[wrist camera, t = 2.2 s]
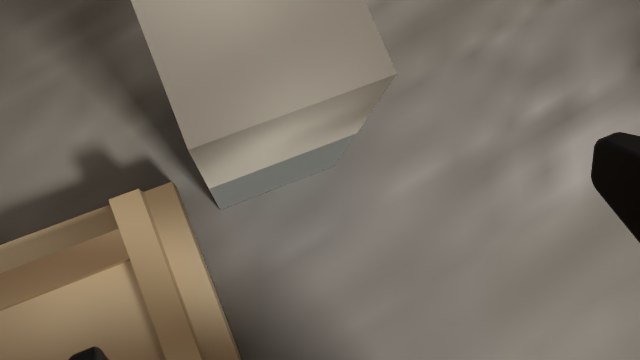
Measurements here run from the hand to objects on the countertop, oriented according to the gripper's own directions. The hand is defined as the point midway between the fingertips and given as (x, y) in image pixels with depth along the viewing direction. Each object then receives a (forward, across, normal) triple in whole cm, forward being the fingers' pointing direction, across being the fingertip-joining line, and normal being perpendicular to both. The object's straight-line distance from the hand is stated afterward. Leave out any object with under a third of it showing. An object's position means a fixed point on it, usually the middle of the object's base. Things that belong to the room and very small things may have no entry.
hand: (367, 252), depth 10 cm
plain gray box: (+12, 0, +4) cm, 13 cm away
